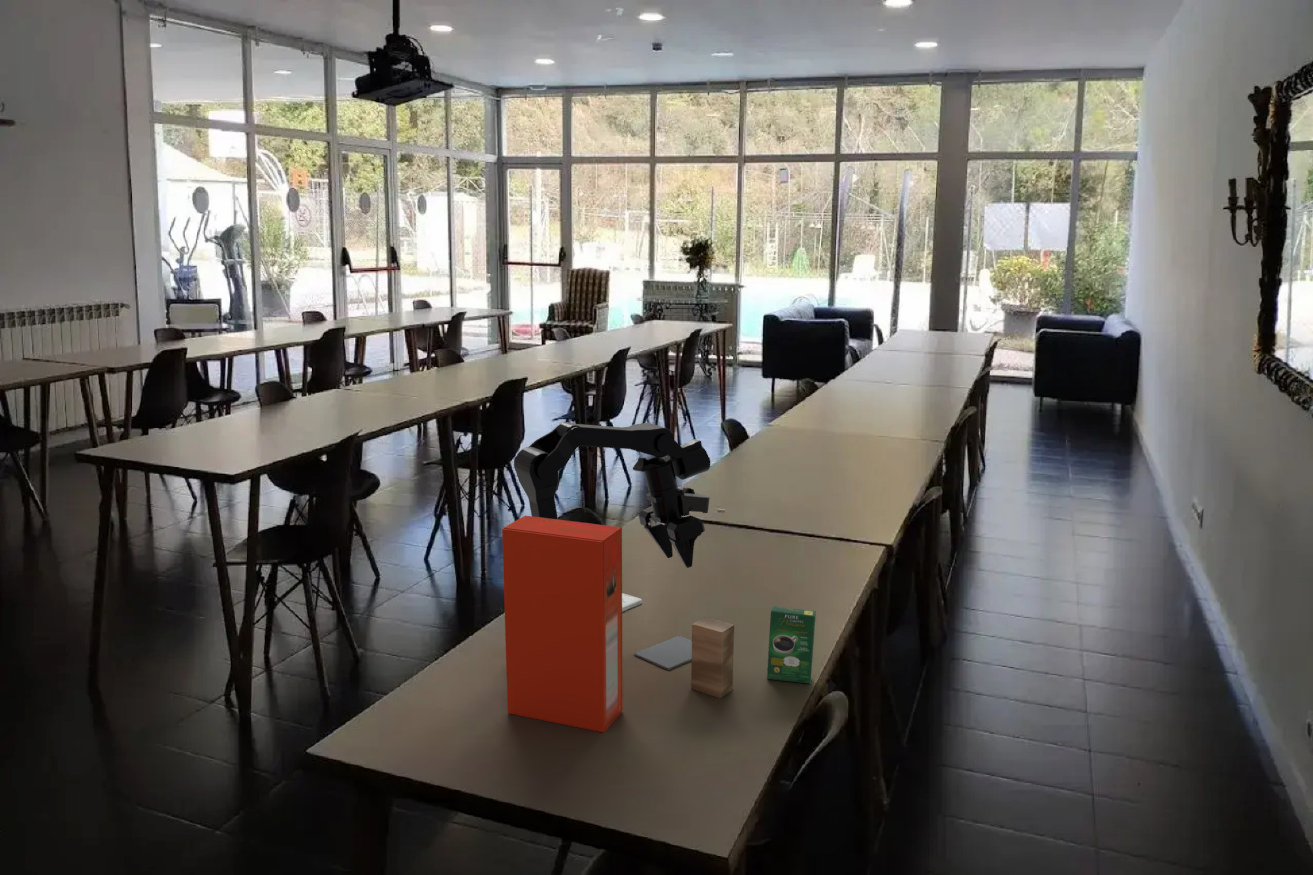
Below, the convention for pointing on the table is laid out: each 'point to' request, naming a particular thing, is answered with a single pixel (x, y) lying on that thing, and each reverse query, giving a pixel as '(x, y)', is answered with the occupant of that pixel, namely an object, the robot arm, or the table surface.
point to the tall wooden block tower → (712, 657)
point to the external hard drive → (629, 602)
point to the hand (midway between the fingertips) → (679, 562)
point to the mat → (668, 653)
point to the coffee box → (791, 644)
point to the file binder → (563, 621)
